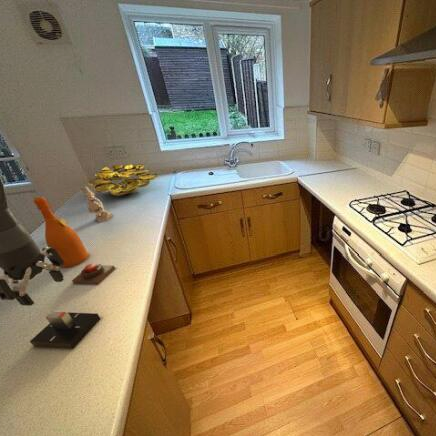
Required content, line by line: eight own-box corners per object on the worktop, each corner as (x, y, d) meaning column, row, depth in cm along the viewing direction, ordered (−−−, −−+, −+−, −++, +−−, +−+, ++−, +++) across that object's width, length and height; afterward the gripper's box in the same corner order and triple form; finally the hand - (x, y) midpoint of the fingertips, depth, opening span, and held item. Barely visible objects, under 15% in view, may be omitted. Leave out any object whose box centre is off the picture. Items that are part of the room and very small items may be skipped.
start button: (83, 272, 91) (81, 269, 90) (91, 266, 94) (89, 263, 93) (92, 273, 90) (90, 269, 90) (99, 266, 94) (98, 263, 93)
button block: (74, 284, 90) (69, 276, 88) (93, 269, 98) (88, 261, 96) (98, 285, 90) (94, 277, 88) (116, 269, 97) (112, 261, 96)
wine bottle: (74, 269, 98) (34, 203, 84) (54, 268, 100) (12, 202, 85) (95, 255, 107) (62, 193, 92) (76, 253, 108) (41, 192, 94)
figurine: (96, 218, 139) (80, 185, 129) (113, 214, 142) (99, 182, 132) (93, 224, 132) (76, 191, 122) (111, 221, 135) (96, 187, 125)
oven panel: (35, 348, 68) (29, 341, 67) (66, 318, 77) (61, 311, 75) (74, 350, 67) (68, 343, 66) (101, 320, 76) (97, 313, 74)
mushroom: (96, 211, 147) (83, 184, 139) (92, 191, 178) (82, 168, 170) (166, 193, 169) (159, 169, 161) (152, 178, 200) (145, 157, 192)
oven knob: (54, 329, 70) (44, 316, 67) (60, 323, 72) (51, 310, 69) (70, 330, 69) (60, 317, 67) (76, 324, 71) (67, 311, 69)
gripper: (26, 228, 64) (57, 274, 72) (-42, 262, 52) (4, 313, 60) (51, 228, 64) (80, 274, 72) (-11, 262, 51) (31, 314, 59)
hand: (45, 292), depth 66 cm, fingers open, 8 cm apart
